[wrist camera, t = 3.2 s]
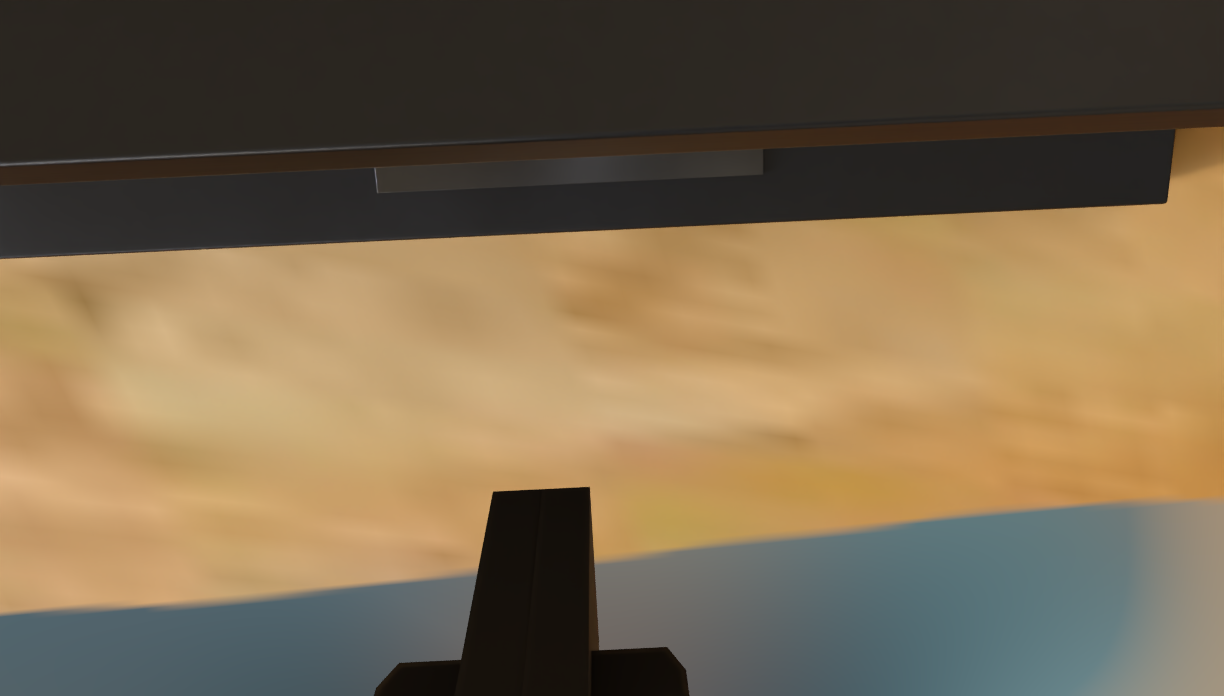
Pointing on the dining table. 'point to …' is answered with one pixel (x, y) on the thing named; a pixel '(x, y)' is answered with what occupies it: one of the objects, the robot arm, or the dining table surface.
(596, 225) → the laptop
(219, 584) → the dining table surface
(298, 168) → the laptop screen
